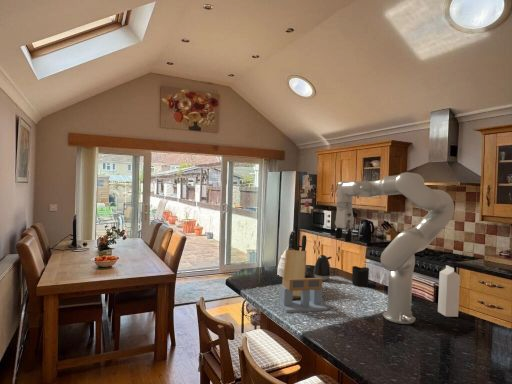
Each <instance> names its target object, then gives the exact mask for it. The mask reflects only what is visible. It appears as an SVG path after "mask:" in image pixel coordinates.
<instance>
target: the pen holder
mask: <svg viewBox="0 0 512 384" xmlns="http://www.w3.org/2000/svg"><path fill="white" fill-rule="evenodd" d="M351 268H352V270H351V273H352V274H351V276H352V277H351V280H352V281H351V282H352V283H351V284H352V285H354V286H355V287H361V288H366V287H368V285H369V275H370V268H369V267H367V266H363V267H360V266H357V265H353V266H352V267H351Z"/></svg>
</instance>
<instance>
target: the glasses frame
mask: <svg viewBox="0 0 512 384" xmlns="http://www.w3.org/2000/svg"><path fill="white" fill-rule="evenodd" d="M282 282H283V286H285V287H286V288H287V289H288V290H289V291H298V290H321V289H322V290H323V281H322V278H316V277H305V278H296V279H288V282H286V281H283V280H282Z"/></svg>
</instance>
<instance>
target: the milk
mask: <svg viewBox="0 0 512 384" xmlns="http://www.w3.org/2000/svg"><path fill="white" fill-rule="evenodd" d="M438 277H439V278H438V302H437V303H438V304H437V313H439V314H441V315H443V316H444V317H451V318H452V317H454V318H455V317H457V318H458V317H459V305H460V288H461V287H460V286H461V285H460V284H461V282H460V281H461V275H460V274H458V273H457V272H456V271H455V267H452V266H450V265H445V268H443V269H441V271H439V276H438Z"/></svg>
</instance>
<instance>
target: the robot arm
mask: <svg viewBox="0 0 512 384" xmlns="http://www.w3.org/2000/svg"><path fill="white" fill-rule="evenodd" d="M336 189H337V193H336V195H337V196H336V212H335V213H336V214H335V220H334V228H335V229H334V230H335V235H334V238H335V239H342V235H343V234H342V232H343V230H344V231H345V234H344V242H347V243H350V242H352V234H353V230H354V227H355V225H354V213H353V197H357V198H358V197H359V198H360V197H362V198H363V197H364V198H366V197H367V198H368V197H379V196H395V195H403V196H404V197H405V198H407V199H408V200H409V201H410V202H411V203H413V204H414V205H416V206H417V207H418V208H420V209H422V210H423V211H428V213H427V214H425V215H424V216H423V217H422V218H421V219H420V220H419V222H418V223H417V224H416V225H415V226H414V227H412V228H411V229H405V230H403V231H401V232H400V233H398V234H397V235H396V236H395V237H394V238H393V240H392V241H391V242H389V244H388V245H387V246H386V247H385V249H383V251H382V253H381V255H380V264H381V266H382V268H384V269H385V270H386V271H389V273H388V280H387V281H388V282H387V283H388V285H387V286H388V287H387V305H386V306H387V307H386V310H387V311H384V312H383V313H382V316H383V317H384V319H385V320H387V321H390V322H392V323H396V324H400V325H401V324H402V325H411V324H414V322H415V321H416V317H414V316H413V311H412V293H413V292H412V291H413V277H414V270H415V264H416V256H415V254H416V253H418V252H422V251H424V250H425V249H427V247H428V246H429V245H430V244H431V243H432V242H433V241H434V240H435V239H436V238H437V237H438V236H439V234H440V233H441V232H442V231H443V230H444V229H445V228H446V226H448V225H449V223H450V222H451V221H452V218H453V216H454V214H455V204H454V201H453V200H454V199H452V197H451V195H450V194H449V193H448V192H446V191H444V190H442V189H433V188H431V187H429V186H427V185H426V183H425V179H424V177H423V176H422V175H421V174H419V173H416V172H415V173H414V172H409V171H408V172H406V171H405V172H402V173H400V174H397V175H396V174H395V175H388V176H384V177H383V178H382V179H379V180H370V181H369V180H368V181H365V180H363V181H362V180H353V181H345V180H344V181H342V180H341V181H338V183H337V188H336Z"/></svg>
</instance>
